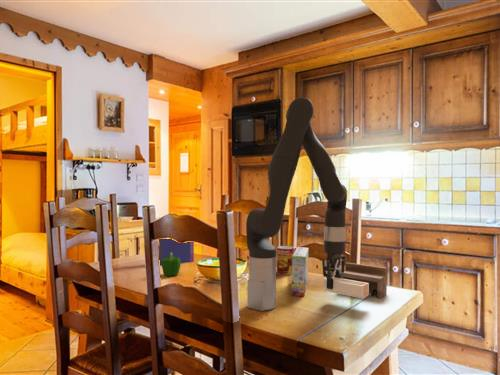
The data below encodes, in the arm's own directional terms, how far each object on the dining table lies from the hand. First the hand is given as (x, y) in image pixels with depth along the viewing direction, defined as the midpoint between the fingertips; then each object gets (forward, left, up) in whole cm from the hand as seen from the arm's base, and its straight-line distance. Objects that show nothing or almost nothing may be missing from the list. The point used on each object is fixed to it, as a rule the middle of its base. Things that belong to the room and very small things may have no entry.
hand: (333, 287), depth 135 cm
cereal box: (+13, +93, -6) cm, 94 cm away
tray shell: (0, -5, -1) cm, 5 cm away
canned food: (+28, +36, -6) cm, 46 cm away
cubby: (+18, -4, -6) cm, 19 cm away
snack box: (+9, +18, -6) cm, 21 cm away
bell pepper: (-7, +75, -6) cm, 76 cm away
